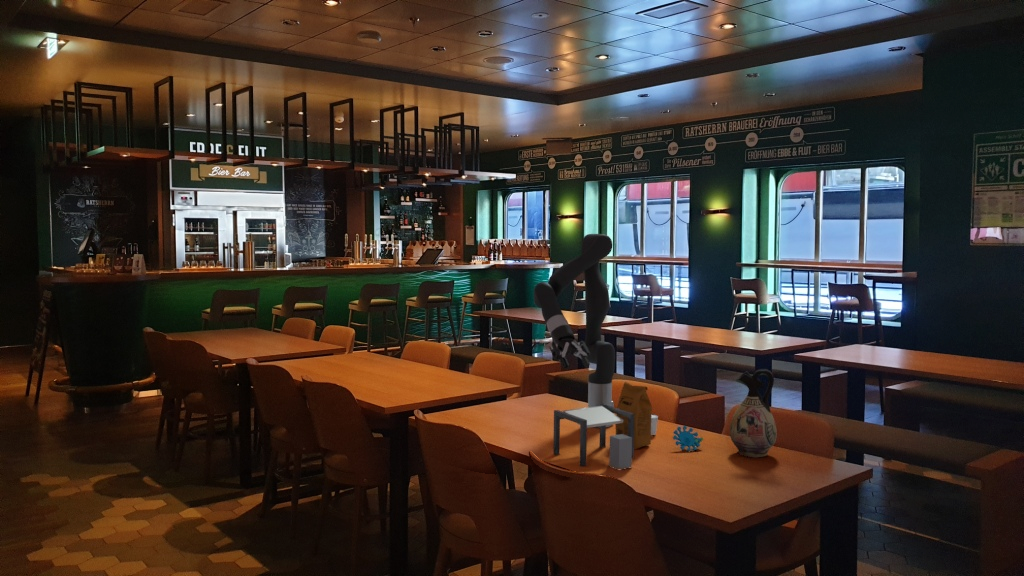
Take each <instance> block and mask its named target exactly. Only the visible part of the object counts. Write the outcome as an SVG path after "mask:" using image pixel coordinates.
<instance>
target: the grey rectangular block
mask: <svg viewBox="0 0 1024 576" xmlns="http://www.w3.org/2000/svg"><path fill="white" fill-rule="evenodd" d="M632 459H633V458H632V437H629V436H626V435H623V434H620V435H616V434H614V435H610V436H609V461H608V462H609V466H611V467H610V468H612V467H614V468H616V469H624V468H629V467H631V468H632V461H633V460H632ZM614 468H613V469H614ZM616 469H615V470H616Z"/></svg>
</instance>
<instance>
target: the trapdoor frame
mask: <svg viewBox="0 0 1024 576" xmlns="http://www.w3.org/2000/svg"><path fill="white" fill-rule="evenodd" d="M600 406H603V407H604V408H606V409H607V410H609V411H610V412H612V413H613V414H615V415H616V414H618V415H621V416H624V417H627V418H628V436H629V437H632V459H634V458H635V455H634V454H635V452H634V451H635V449H634V415H635V414H634V413H630V412H627V411H624V410H621V409H617V407H615V406H614V407H611V406H608V405H604V404H602V405H600ZM561 420H568V421H570V422H573V423H576V424H577V423H578V425H579V424H580V425H579V427H580V428H579V429H580V430H579V432H580V433H579V466H580V467H587V444H588V443H587V442H588V441H587V440H588V436H587V434H588V431H587V430H588V428H587V420H585V419H582V418H579V417H576V416H574V415H571V414H568V413H565V412H563V410H560V409H554V410H553V447H552V448H553V451H552V453H553V455H554V456H557V455H558V456H559V455H560V445H561V443H560V441H561V439H560V436H561ZM606 436H607V427H606V425H604V426H600V428H599V447H600V448H602V447H603V448H606V442H607V441H606ZM633 457H634V458H633Z"/></svg>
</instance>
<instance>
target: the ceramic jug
mask: <svg viewBox="0 0 1024 576" xmlns="http://www.w3.org/2000/svg"><path fill="white" fill-rule="evenodd" d="M759 376H765V377H767V378H768V384H767V387H766V390H765V392H764V393H763V396H762V395H761V393H760V390H759V389H762V388H764V387H765V385H764V383H763V381H762V380H761V379H759ZM735 381H736V382H737V383H739V384H742V385H744V386H745V387H747V389H748V392H747V395H746V396H745V398H744V399H743V400H742V402H741V403H740V404H739V406H738V407H737V409H736V410H735V412H734V414H733V416H732V419H731V421H730V425H729V437H730V439H731V441H732V443H733V445H734V446H735V447H736V449H737V453H738V454H739V455H740V454H741V455H740V456H743V455H744V457H747V456H748V457H749V458H763V457H766V456H768V452H769V450H770V449H771V448H772V447H773V446H774V445H775V444H776V440H777V436H778V435H777V433H778V432H777V431H778V430H777V425H776V421H775V418H774V416H773V414H772V412H771V408H770V404H769V398H770V395H771V392H772V389H773V388H774V384H775V376H774V374H773V373H772V371H771V370H769V369H767V368H761V369H757V370H755V372H754V373H753V374H752V375H751V374H750V372H748V370H747V371H746V370H745V372H743V373H742V374H740V375H739V376H738V377H737V378H736V380H735Z"/></svg>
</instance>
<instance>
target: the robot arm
mask: <svg viewBox="0 0 1024 576" xmlns="http://www.w3.org/2000/svg"><path fill="white" fill-rule="evenodd" d="M580 245H581V246H580V250H581V254H580V255H578V256H576V257H575V258H573V259H572V260H569V261H568V262H566V263H564V264H562V265H561V266H560V267H559V268H558V269H557V270H555V271H554V273H552V274H551V275H550V277H549V279H548V282H544V281H541V282H538V283H536V285H535V286H534V289H533V302H534V305H535V306H536V307H537V308H538V309H540V310H541V314H542V315H541V316H542V318H543V320H544V322H545V324H546V327H547V330H548V332H549V334H550V337H551V338H552V340H553V342H552V343H551V344H550V345H549V349H550V350H549V351H550V353H551V355H552V358H553V360H554V361H557V360H558V361H559V362H560V363H561V366H562V368H563V369H564V370H568V369H569V368H570V364H569V362H568V359H567V357H566V356H569V355H571V356H572V355H573V356H575V357H577V358H579V359H580V360H581V362H582V365H583V366H584V368H585V369H588V368H589V367H590V364H593V365H595V371H594V372H592V373H589V374H588V379H587V380H588V381H587V382H588V385H587V387H588V388H587V390H588V393H587V398H588V399H587V408H588V407H596V406H600V405H602V404H604V405H608V406H611V407H614V408H615V406H614V403H615V402H614V400H613V398H612V395H613V392H612V391H613V377H614V374H615V365H616V364H615V363H616V351H615V347H614V345H613V344H612V342H611V343H610V342H608V341H607V342H606V341H602V326H603V323H604V321H605V318H606V316H607V314H608V312H609V308H610V295H609V289H608V286H607V283H606V281H605V279H604V277H603V274H602V273H601V268H600V261H601V260H602V259H604V258H606V257H607V256H609V255H610V253H612V249H613V241H612V239H611V237H610V236H609V235H607V234H605V233H603V234H602V233H589V234H585V235H584V237H583V238H582V241H581V244H580ZM581 274H583V276H584V301H585V302H584V304H585V336H584V337H585V339H584V340H581V341H579V342H577V341H576V339H575V338H576V337H575V334H574V332H573V330H572V328H571V326H570V324H569V322H568V320H567V319H566V317H565V315H564V313H563V312H562V309H561V308H560V305H559V302H558V298H559V297H560V295H561V294H562V291H564V290H565V289H566V288H568V286H569V285H570V284H571V283H572V282H574V280H575V279H577V278H578V277H579V276H581ZM611 426H614V424H611V425H606V428H610V427H611ZM596 428H599V429H600V426H597V427H596Z"/></svg>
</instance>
